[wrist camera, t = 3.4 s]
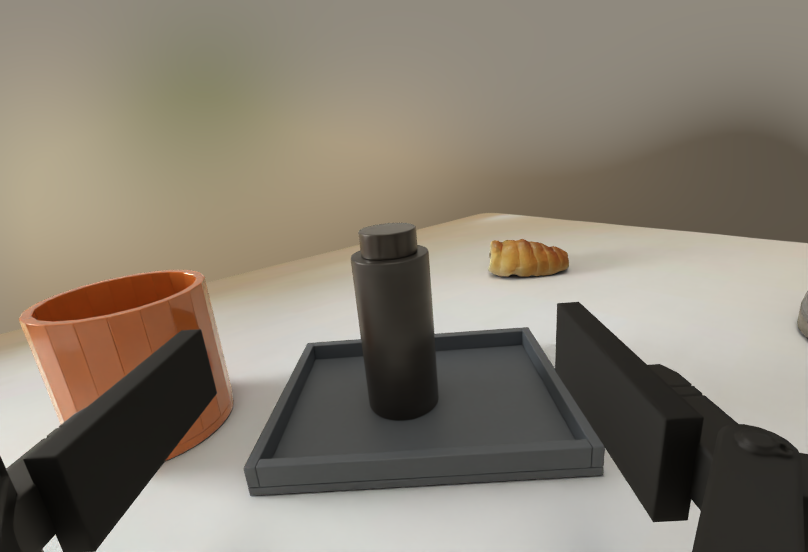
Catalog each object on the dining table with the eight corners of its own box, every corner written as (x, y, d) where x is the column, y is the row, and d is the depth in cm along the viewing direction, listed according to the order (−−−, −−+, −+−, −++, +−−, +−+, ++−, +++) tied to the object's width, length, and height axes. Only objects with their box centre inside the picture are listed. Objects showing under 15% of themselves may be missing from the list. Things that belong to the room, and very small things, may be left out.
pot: (253, 379, 31) (227, 265, 28) (193, 469, 23) (149, 317, 20) (137, 387, 32) (100, 275, 29) (35, 478, 23) (-31, 331, 20)
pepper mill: (436, 377, 28) (425, 218, 25) (441, 418, 24) (428, 233, 21) (372, 382, 28) (352, 224, 25) (366, 423, 24) (341, 240, 21)
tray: (528, 346, 32) (528, 326, 32) (603, 475, 20) (605, 446, 19) (310, 362, 33) (307, 342, 33) (249, 496, 20) (242, 468, 20)
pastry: (562, 261, 53) (563, 231, 51) (574, 278, 46) (575, 245, 45) (487, 263, 54) (486, 235, 53) (488, 281, 48) (487, 249, 47)
